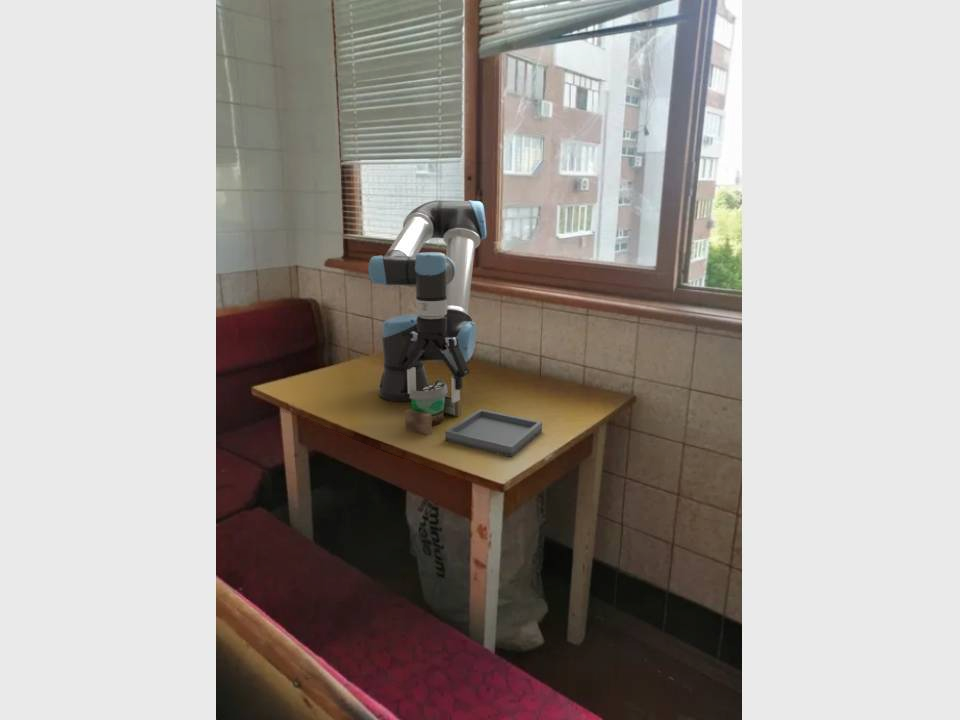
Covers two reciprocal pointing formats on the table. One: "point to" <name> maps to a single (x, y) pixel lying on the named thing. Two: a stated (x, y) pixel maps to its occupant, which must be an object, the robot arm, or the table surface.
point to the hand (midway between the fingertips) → (433, 396)
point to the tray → (494, 432)
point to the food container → (430, 400)
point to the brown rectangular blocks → (429, 416)
